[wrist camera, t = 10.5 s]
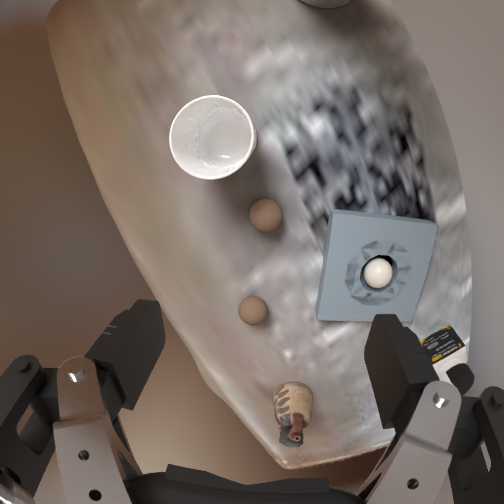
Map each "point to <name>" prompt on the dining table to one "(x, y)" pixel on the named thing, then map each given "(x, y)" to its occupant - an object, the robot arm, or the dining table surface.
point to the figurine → (292, 412)
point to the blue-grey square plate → (364, 248)
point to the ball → (378, 273)
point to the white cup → (212, 137)
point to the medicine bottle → (449, 358)
